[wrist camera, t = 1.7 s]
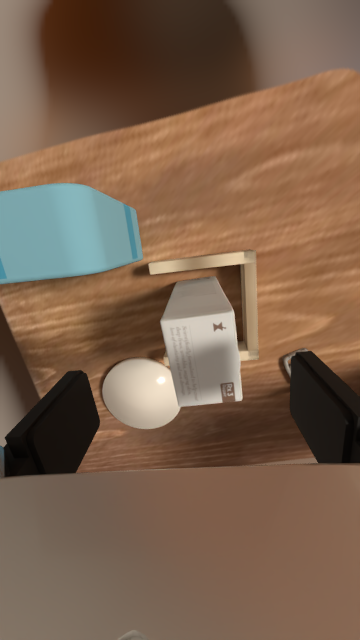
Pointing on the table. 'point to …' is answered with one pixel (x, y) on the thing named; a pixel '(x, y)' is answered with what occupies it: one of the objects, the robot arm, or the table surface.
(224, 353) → the skincare box
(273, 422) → the table surface
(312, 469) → the robot arm
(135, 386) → the ceramic coaster
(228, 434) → the table surface
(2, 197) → the data package
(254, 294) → the stand
